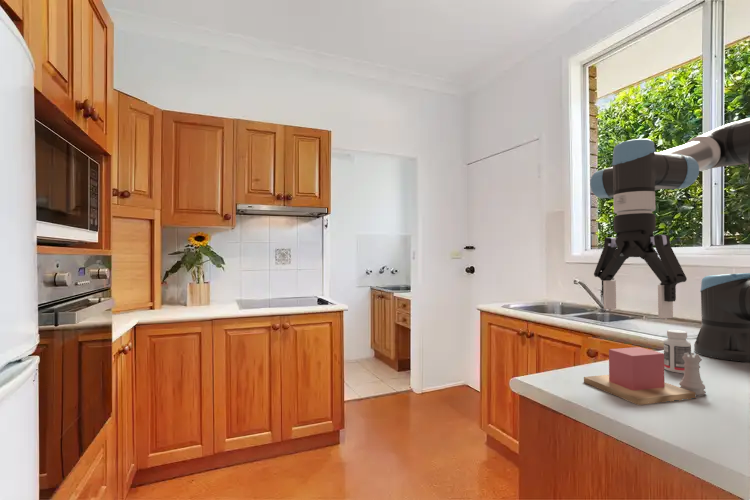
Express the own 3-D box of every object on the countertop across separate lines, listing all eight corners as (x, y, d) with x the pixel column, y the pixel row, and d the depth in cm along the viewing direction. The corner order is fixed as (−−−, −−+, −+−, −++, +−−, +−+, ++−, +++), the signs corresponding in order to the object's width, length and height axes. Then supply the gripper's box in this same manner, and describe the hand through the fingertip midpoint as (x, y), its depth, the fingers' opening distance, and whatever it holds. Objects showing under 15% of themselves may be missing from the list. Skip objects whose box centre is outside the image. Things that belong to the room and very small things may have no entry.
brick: (639, 378, 88) (638, 347, 88) (664, 387, 83) (664, 353, 83) (609, 381, 87) (608, 349, 87) (632, 390, 81) (632, 356, 81)
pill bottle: (694, 371, 98) (694, 331, 98) (687, 375, 95) (686, 334, 95) (668, 366, 102) (668, 328, 102) (660, 370, 99) (660, 330, 99)
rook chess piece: (711, 396, 80) (710, 357, 80) (686, 395, 81) (685, 356, 81) (698, 389, 85) (697, 351, 85) (674, 388, 86) (673, 351, 86)
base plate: (634, 377, 93) (634, 372, 93) (695, 398, 79) (695, 392, 79) (583, 382, 90) (583, 376, 90) (638, 405, 76) (638, 398, 76)
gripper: (576, 218, 96) (578, 306, 96) (676, 206, 72) (678, 323, 72) (602, 219, 98) (604, 305, 98) (708, 207, 74) (710, 321, 73)
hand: (635, 313), depth 85 cm, fingers open, 13 cm apart
